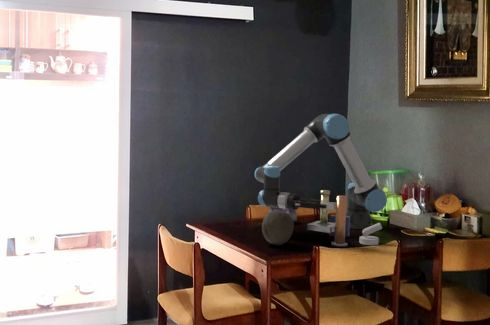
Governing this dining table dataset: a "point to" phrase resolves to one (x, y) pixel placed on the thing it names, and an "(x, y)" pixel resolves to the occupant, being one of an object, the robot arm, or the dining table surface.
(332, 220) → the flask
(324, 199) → the glass vial
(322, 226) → the rosette bracket
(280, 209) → the geode
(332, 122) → the robot arm
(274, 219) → the cantaloupe
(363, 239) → the wall hook
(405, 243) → the dining table surface
